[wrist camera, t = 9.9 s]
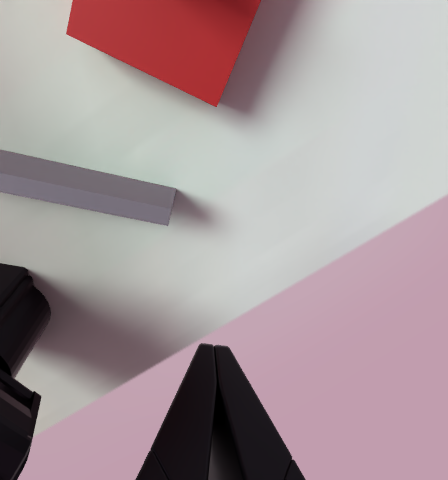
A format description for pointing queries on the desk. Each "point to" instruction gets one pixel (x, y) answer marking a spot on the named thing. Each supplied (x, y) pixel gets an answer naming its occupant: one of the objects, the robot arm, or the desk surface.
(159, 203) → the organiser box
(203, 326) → the desk surface
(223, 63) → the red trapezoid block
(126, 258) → the desk surface
